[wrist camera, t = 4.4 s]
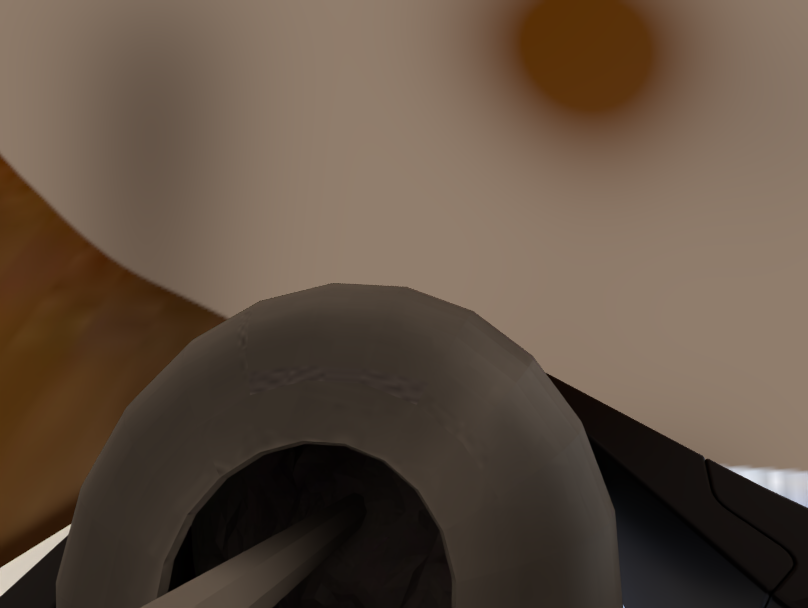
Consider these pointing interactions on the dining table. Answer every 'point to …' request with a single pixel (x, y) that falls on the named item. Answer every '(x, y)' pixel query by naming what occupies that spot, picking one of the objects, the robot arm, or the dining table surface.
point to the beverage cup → (346, 470)
